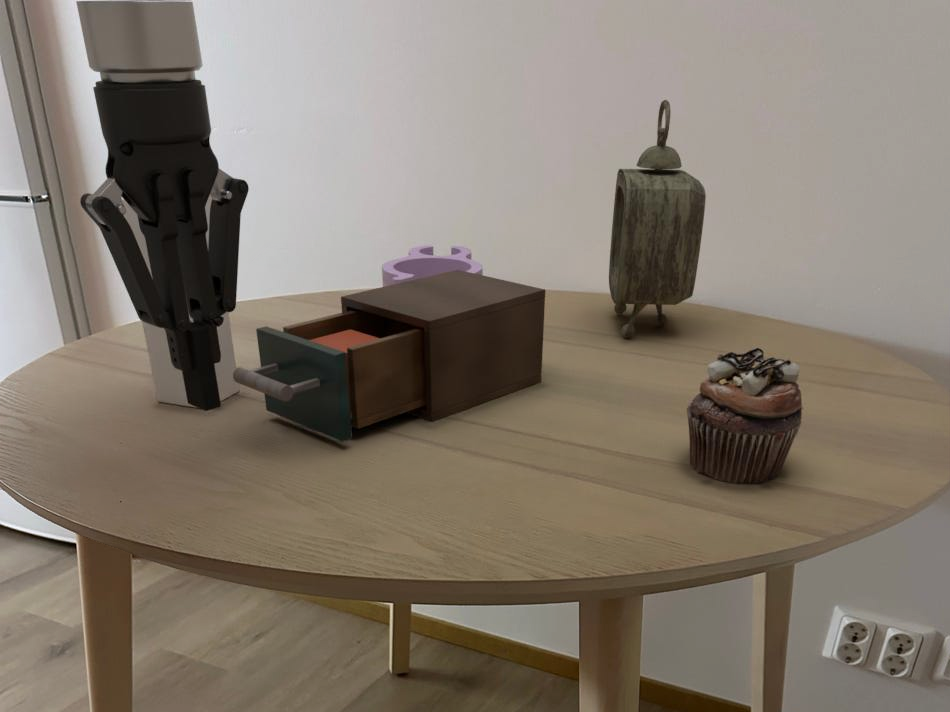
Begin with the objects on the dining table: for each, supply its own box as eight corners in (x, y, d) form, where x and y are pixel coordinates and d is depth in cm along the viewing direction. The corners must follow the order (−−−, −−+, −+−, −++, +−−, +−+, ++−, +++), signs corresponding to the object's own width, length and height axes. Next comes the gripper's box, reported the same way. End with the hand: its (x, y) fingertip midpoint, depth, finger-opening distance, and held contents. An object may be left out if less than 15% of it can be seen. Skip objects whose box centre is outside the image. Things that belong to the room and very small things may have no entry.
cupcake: (812, 466, 81) (837, 352, 76) (752, 499, 76) (775, 378, 70) (719, 436, 87) (737, 328, 81) (657, 464, 81) (672, 351, 76)
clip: (399, 297, 129) (397, 244, 125) (488, 299, 128) (488, 246, 124) (375, 338, 112) (372, 279, 108) (477, 341, 112) (478, 281, 108)
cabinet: (431, 422, 90) (429, 321, 84) (347, 391, 97) (340, 296, 91) (541, 381, 100) (545, 289, 94) (457, 356, 107) (457, 269, 101)
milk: (192, 384, 98) (153, 151, 86) (241, 391, 96) (208, 155, 84) (156, 402, 93) (109, 158, 81) (206, 410, 92) (166, 162, 79)
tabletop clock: (605, 311, 124) (623, 95, 110) (672, 312, 124) (699, 96, 110) (613, 342, 112) (635, 104, 98) (688, 344, 112) (721, 106, 98)
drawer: (302, 456, 80) (292, 366, 76) (226, 422, 87) (213, 338, 82) (461, 399, 92) (461, 319, 88) (385, 373, 99) (381, 298, 94)
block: (310, 398, 89) (305, 341, 86) (354, 384, 92) (350, 329, 89) (347, 412, 86) (343, 353, 83) (391, 398, 89) (388, 340, 86)
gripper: (199, 71, 70) (243, 376, 84) (32, 78, 62) (110, 414, 76) (257, 75, 66) (294, 396, 79) (86, 82, 58) (158, 437, 71)
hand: (204, 404), depth 77 cm, fingers closed
